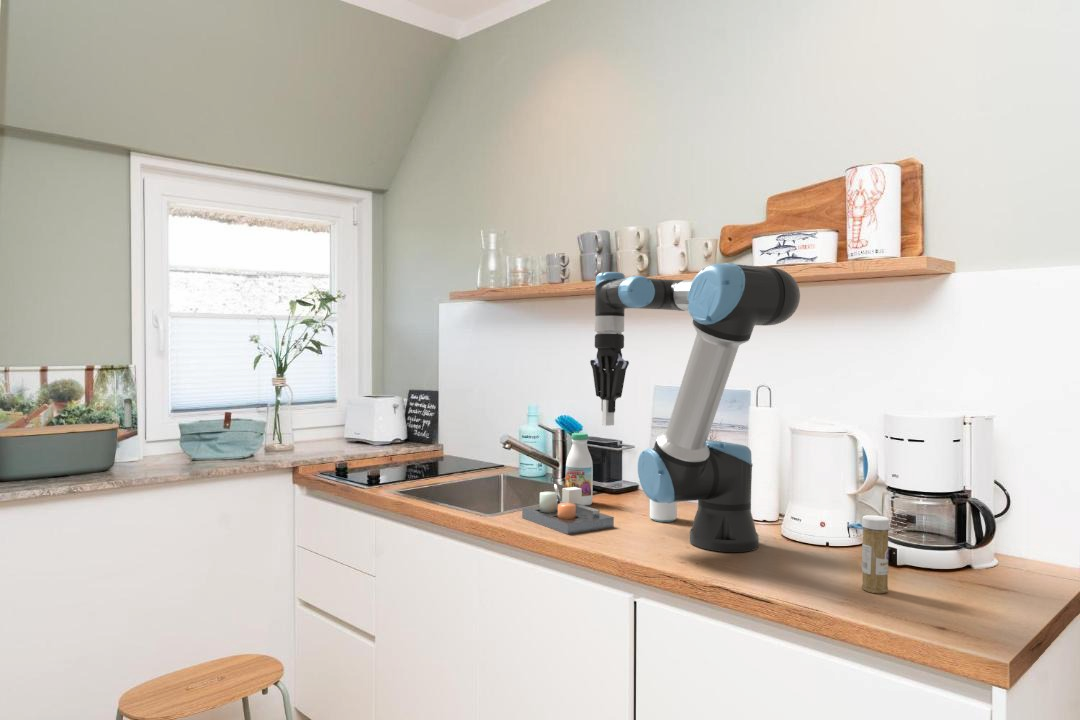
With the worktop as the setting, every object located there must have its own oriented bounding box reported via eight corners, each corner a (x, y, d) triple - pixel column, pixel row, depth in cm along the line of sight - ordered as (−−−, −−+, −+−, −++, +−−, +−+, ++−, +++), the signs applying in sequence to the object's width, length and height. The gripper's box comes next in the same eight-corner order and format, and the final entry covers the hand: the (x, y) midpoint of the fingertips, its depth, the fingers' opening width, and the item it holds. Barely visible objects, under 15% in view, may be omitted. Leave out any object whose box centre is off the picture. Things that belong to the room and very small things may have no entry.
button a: (579, 523, 177) (579, 505, 177) (564, 525, 175) (564, 507, 175) (568, 520, 181) (568, 502, 181) (554, 522, 179) (554, 504, 179)
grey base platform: (613, 527, 179) (614, 495, 179) (567, 534, 171) (568, 501, 171) (564, 511, 196) (565, 482, 196) (520, 517, 188) (521, 487, 188)
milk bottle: (567, 500, 211) (568, 431, 211) (594, 501, 209) (595, 432, 209) (563, 505, 203) (564, 434, 203) (590, 507, 202) (591, 435, 202)
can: (675, 517, 191) (676, 471, 191) (678, 523, 184) (678, 476, 184) (648, 516, 192) (649, 470, 192) (650, 522, 185) (650, 475, 185)
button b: (560, 511, 184) (560, 493, 184) (545, 513, 182) (546, 495, 182) (550, 508, 188) (550, 491, 188) (536, 510, 185) (536, 492, 185)
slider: (581, 502, 187) (581, 488, 187) (569, 503, 185) (569, 490, 185) (574, 500, 190) (574, 486, 190) (562, 501, 187) (562, 488, 187)
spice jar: (889, 595, 130) (890, 520, 130) (861, 592, 132) (862, 518, 131) (887, 588, 134) (888, 515, 134) (860, 585, 136) (861, 513, 136)
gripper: (637, 333, 183) (636, 426, 183) (604, 334, 193) (603, 422, 194) (614, 332, 178) (613, 428, 179) (582, 333, 189) (581, 423, 189)
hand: (608, 425), depth 186 cm, fingers closed
